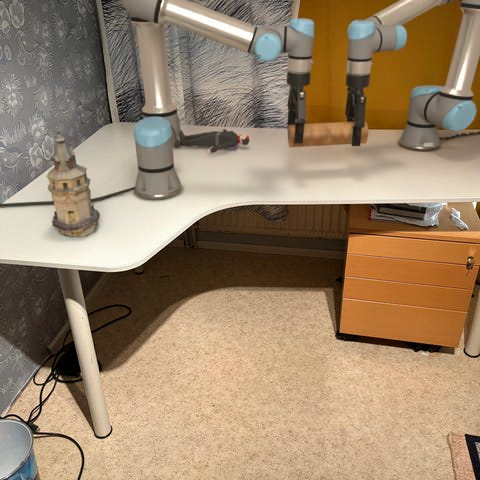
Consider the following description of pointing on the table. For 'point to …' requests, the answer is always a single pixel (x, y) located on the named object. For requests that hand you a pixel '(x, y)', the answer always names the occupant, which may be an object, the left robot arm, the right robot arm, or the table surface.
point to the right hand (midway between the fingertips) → (352, 141)
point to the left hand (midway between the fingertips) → (294, 136)
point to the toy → (212, 140)
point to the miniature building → (70, 193)
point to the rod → (326, 134)
